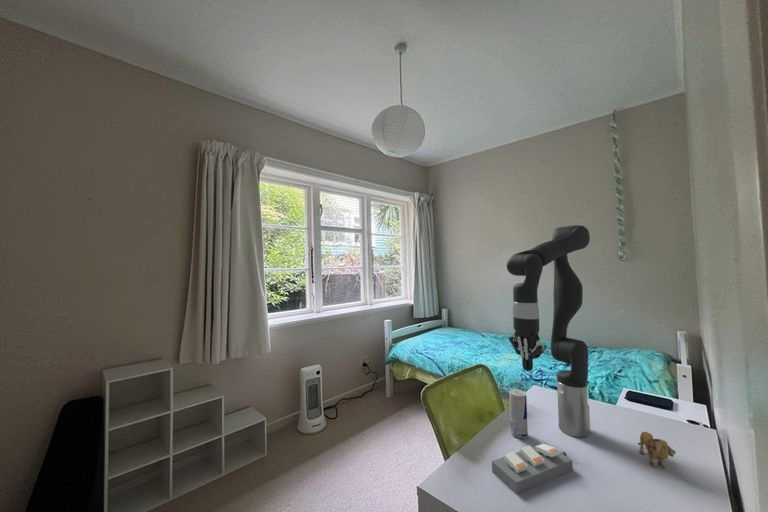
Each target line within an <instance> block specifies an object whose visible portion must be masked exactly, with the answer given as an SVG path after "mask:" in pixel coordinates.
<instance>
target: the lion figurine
mask: <svg viewBox="0 0 768 512" xmlns="http://www.w3.org/2000/svg"><path fill="white" fill-rule="evenodd" d="M637 444H638V446H639V447H640V448H639V451H638V453H639V454H641V455H644V454H645V452H644V448H645V449H646V450H647V456H648V457H647V458H648V467H651V468H655V463H654V458H655V460H658V461H657V465H658V466H659V467H660V468H662V469H665V465H663V464H662V463H663V461H665V460H668V459H669V457H671V458H673V457H674V456H675V455H676V453H677V452H676V450H674V449H673V448H671V446H670V445H669V444H668V441H666V440H664V439H661V438H654V436H653V435H652V434H651V433H650V432H648V431H643V432H641V433H640V436H639V442H637Z"/></svg>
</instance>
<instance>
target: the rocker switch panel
mask: <svg viewBox="0 0 768 512" xmlns="http://www.w3.org/2000/svg"><path fill="white" fill-rule="evenodd" d="M541 444H547V445H549V444H548V443H546V442H542V443H540V444H537V445H534V446H531V447H532V448H533V449H534V450H535V451H536V446H538V445H541ZM536 452H537V453H538V454H539V455H540V456H541V457H542V458H543V459H544V463H543V464H541V465H538V466H536V467H534V466H533V465H532V464H531V463H530V462H529V461H527V460H526V457H525V456H524V455H523V454H522V453H521V452H520V450H519V451H517V452H515V453H516V454H517V455H518V456H519V457H520V458H521V459H522V460H523V461H524V463H525V464H526V465H527V466H528V467H527V470H525V471H522V472H519V473H517V472H516V471H515V470H514V469H513V468H511V467H510V464H509V463H508V462H507V461H506V460H505V459H504V458H503V457H504V456H503V457H499V458H497V459H493V460H492V461H491V472H492V473H493V474H494V475H495V476H496V477H498V478H499V479H500V481H502V482H503V483H504V484H505V485H506V486H508V487H509V489H510V490H512V491H513V492H514V493H515V494H516V495H517V494H519V493H522V492H524V491H527V490H530V489H532V488H534V487H536V486H539V485H541V484H544V483H546V482H548V481H551V480H554V479H555V478H558V477H560V476H563V475H564V474H565V475H566V474H568V473H569V472H572V471H573V470H574V468H573V459H572V458H570V457H569V456H568V455H567V453H566V452H565V451H563V452H560V454H559V455H556V456H553V457H550V456H544V455H543V453H541V452H538V451H536Z"/></svg>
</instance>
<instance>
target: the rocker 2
mask: <svg viewBox="0 0 768 512" xmlns="http://www.w3.org/2000/svg"><path fill="white" fill-rule="evenodd" d="M540 444H541V445H540ZM540 444H537V445H538V446H537V445H535V446H536V451H538V452H541V453H543V455H544V456H550V457H553V456H556V455H559V454H560V453H561V451H560V449H559V448H556V447H553V446H552V445H549V444H548V443H546V444H543V443H540ZM547 444H548V445H547Z"/></svg>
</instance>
